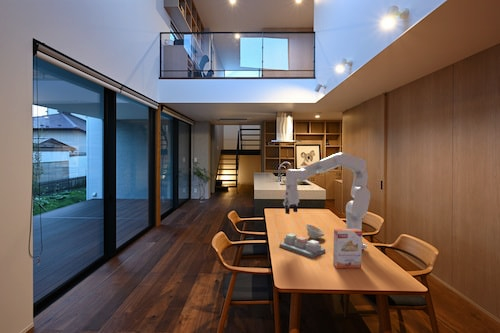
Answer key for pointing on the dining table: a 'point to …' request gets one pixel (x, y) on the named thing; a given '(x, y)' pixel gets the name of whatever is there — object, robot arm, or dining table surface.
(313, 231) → the bowl
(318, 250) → the button board
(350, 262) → the cracker box
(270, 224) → the dining table surface
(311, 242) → the cream button
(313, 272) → the dining table surface
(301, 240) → the terracotta button
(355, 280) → the dining table surface
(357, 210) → the robot arm
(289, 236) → the green button
